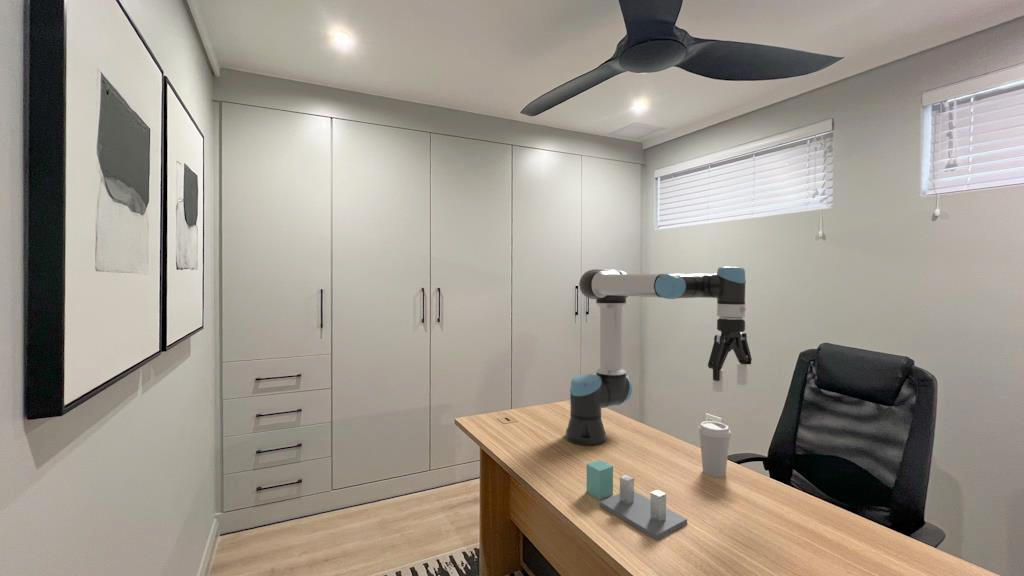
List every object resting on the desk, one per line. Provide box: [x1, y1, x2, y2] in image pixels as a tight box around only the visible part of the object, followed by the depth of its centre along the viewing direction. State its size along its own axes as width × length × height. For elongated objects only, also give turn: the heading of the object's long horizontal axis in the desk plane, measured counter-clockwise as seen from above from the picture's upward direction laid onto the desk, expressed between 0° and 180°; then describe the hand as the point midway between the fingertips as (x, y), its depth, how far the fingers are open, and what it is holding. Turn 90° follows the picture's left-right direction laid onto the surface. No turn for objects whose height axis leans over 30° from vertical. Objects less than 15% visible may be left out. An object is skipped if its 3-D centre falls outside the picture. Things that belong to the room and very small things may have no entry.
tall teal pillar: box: [586, 459, 614, 500], centre depth 121 cm, size 5×5×8 cm
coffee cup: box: [697, 420, 732, 478], centre depth 133 cm, size 10×10×15 cm
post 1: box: [619, 474, 635, 505], centre depth 114 cm, size 3×3×6 cm
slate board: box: [599, 491, 688, 541], centre depth 110 cm, size 18×12×1 cm, turn 34°
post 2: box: [650, 489, 667, 523], centre depth 105 cm, size 3×3×6 cm
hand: (730, 388), depth 128 cm, fingers open, 13 cm apart
